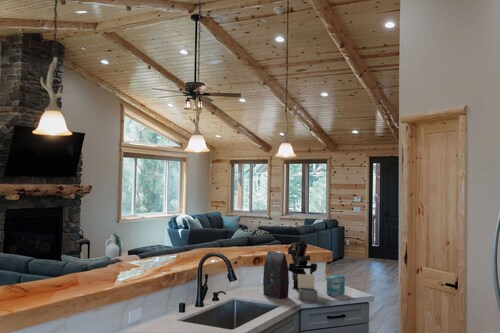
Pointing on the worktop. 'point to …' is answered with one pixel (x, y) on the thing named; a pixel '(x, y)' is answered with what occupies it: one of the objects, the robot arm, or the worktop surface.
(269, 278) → the dark coffee bag
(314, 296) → the storage box
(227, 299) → the worktop surface
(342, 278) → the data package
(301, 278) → the lid
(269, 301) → the worktop surface
